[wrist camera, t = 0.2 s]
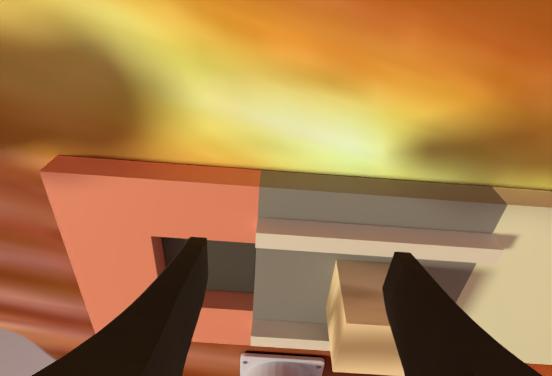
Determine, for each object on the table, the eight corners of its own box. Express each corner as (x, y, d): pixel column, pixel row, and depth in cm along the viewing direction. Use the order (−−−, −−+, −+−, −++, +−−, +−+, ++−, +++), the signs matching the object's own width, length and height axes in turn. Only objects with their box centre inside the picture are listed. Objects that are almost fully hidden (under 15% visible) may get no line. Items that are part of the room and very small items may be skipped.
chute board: (573, 345, 32) (602, 384, 29) (106, 315, 31) (87, 352, 29) (702, 201, 23) (761, 237, 20) (57, 155, 23) (23, 184, 20)
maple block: (390, 311, 27) (409, 376, 23) (325, 307, 27) (332, 371, 23) (408, 264, 24) (433, 328, 20) (336, 259, 24) (346, 323, 20)
